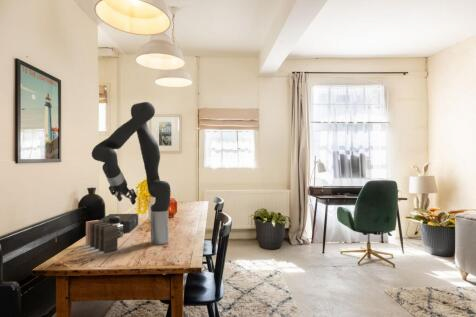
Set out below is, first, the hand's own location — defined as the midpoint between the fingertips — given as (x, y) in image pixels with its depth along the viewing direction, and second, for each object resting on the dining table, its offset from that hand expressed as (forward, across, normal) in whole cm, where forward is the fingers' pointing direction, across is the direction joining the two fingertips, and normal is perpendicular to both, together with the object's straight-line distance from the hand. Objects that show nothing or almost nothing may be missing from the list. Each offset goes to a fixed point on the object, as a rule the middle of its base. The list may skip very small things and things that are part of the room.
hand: (127, 201), depth 157 cm
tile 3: (+11, +4, +23) cm, 25 cm away
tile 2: (+9, 0, +24) cm, 25 cm away
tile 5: (+14, +13, +21) cm, 28 cm away
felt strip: (+11, +4, +23) cm, 26 cm away
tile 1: (+7, -5, +24) cm, 26 cm away
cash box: (+40, +25, -4) cm, 47 cm away
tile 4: (+12, +8, +22) cm, 26 cm away
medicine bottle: (+25, +12, +10) cm, 29 cm away
